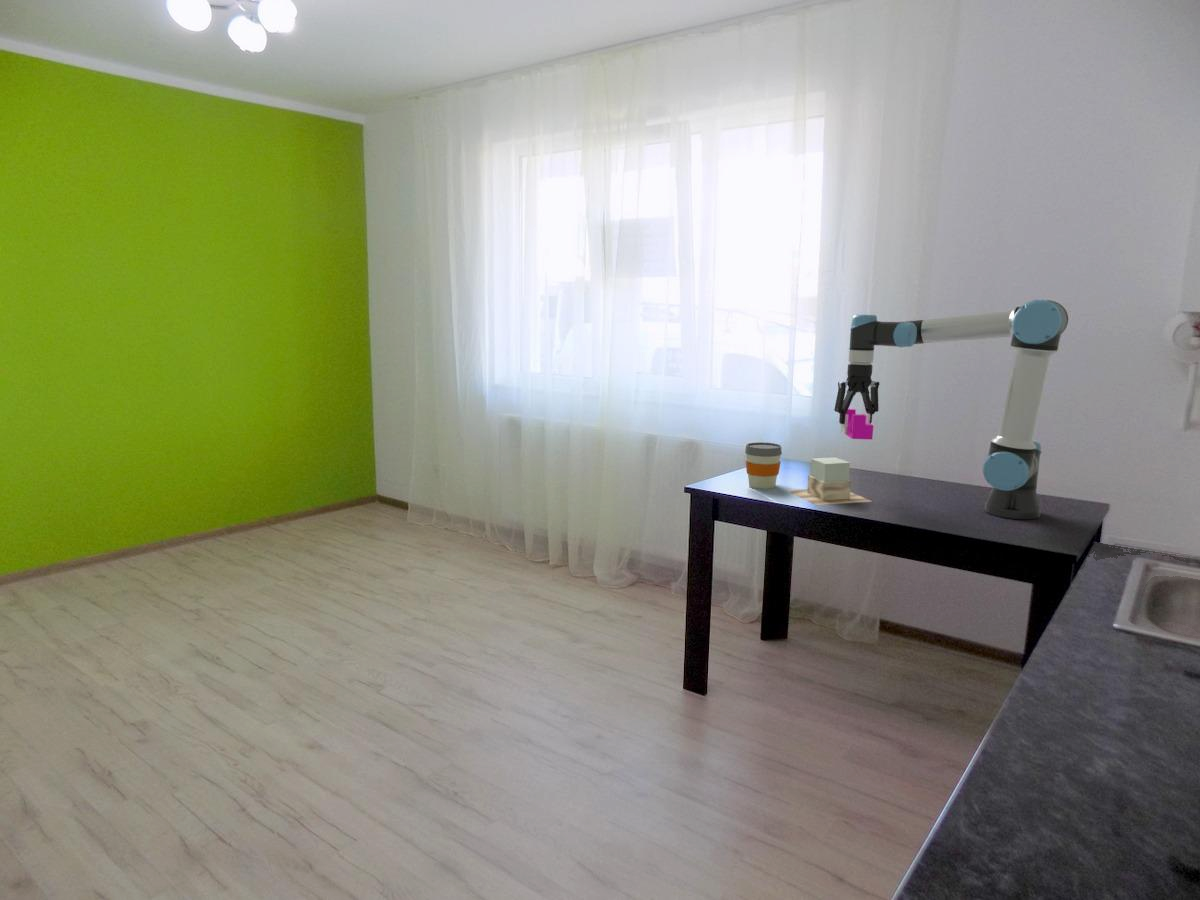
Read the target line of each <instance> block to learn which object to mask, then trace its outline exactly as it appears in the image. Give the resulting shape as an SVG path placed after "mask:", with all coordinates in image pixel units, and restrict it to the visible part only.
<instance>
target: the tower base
mask: <svg viewBox="0 0 1200 900" xmlns="http://www.w3.org/2000/svg"><path fill="white" fill-rule="evenodd" d="M851 486H852V480H850V479H849V481H832V482H823V481H821V480H818V479H816V478H814V477H811V476H810V475H808V476H807V489H808V490H807V493H808V494H810V495H813V496H815V497H817V498H819V499H821V500H834V499H849V498H850V492H851V489H852V487H851Z"/></svg>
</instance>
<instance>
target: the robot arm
mask: <svg viewBox="0 0 1200 900" xmlns="http://www.w3.org/2000/svg"><path fill="white" fill-rule="evenodd" d="M1068 324H1069V313H1068V312H1067V309H1066V308H1065V307H1064V306H1063V305H1062V304H1061V303H1059V302H1056V301H1055V300H1054V301H1053V300H1048V299H1047V300H1046V299H1034V300H1031V301H1028V302H1026V303H1024V304H1023V305H1021V306H1015V307H1014V308H1013V309H1012V310H1010V311H1000V312H990V313H989V312H988V313H978V314H977V313H976V314H968V315H960V316H959V315H958V316H950V317H949V316H948V317H938V318H937V317H936V318H928V319H927V318H926V319H919V320H918V319H917V320H906V321H880V320H879V321H878V317H877V315H876V314H854V315H853V316H852V318H851V325H850V334H849V336H850V337H849V348H848V349H849V350H848V363H847V377H846V380H844V381H840V380H839V381H838V383H837V387H838V391H837V394H836V398H835V399H836V400H835V403H834V404H835V406H834V409H833V410H834V412H836V413H838V414H839V418H838V419H839V420H838V421H839V422H838V423H839V424H840V434H842V435H845V436H847V427H848V414H846V413H847V411H848V409H850V407H851V406H850V405H851V404H852V401H853V399H854V396H856V394H858V393H860V395H861V397H862V400H863V401H862V402H863V406H864V409H865V412H863V415H866V423H870V424H872V421H873V415H875V413H877V412H879V386H880V381H876V380H872V375H873V367H874V366H873V365H872V363H873V362H874V356H875V355H874V351H875V346H878V347H879V346H881V347H882V346H883V347H884V346H885V347H897V348H909V347H910V348H911V347H913V346H914V345H921V344H922V345H923V344H931V343H932V344H933V343H942V342H943V343H945V342H957V341H972V340H985V339H997V338H1010V337H1011V341H1010V345H1009V346H1010V348H1011V350H1012V351H1013V352H1014V357H1013V361H1012V367H1011V372H1010V377H1009V381H1008V384H1007V385H1008V387H1007V391H1006V394H1005V395H1006V396H1005V401H1004V405H1003V409H1002V410H1003V411H1002V415H1001V420H1000V425H999V430H998V434H997V436H994V437H993V438H992V439H991V440H990V445H989V449H988V455H987V457H986V459H984V462H983V465H982V475H983V477H984V479H985V481H986V482H987V484H988V485H990V486H991V487H992V489H991V491H990V493H989V496H988V499H987V500H986V501H985V504H984V511H985V512H986V513H988V514H991V515H993V516H996V517H1000V518H1005V519H1006V518H1007V519H1015V520H1034V519H1035V520H1036V519H1038V518H1040V517H1041V511H1042V510H1041V506H1040V503H1039V501H1040V500H1039V497H1038V493H1037V488H1038V487H1037V486H1038V478H1039V469H1040V459H1041V454H1042V444H1041V443H1040V442H1038V441H1033V440H1032V439H1033V435H1034V430H1035V427H1036V423H1037V417H1038V412H1039V407H1040V402H1041V400H1042V399H1041V398H1042V394H1043V390H1044V384H1045V380H1046V374H1047V370H1048V365H1049V361H1050V358H1051V356H1052V355H1054V354H1056V353H1057V352H1058V351H1059V345H1060V341H1061V336H1062V334H1063V333H1064V332H1065V330H1066V329H1067V327H1068ZM847 387H848V388H847ZM869 387H870V391H869Z"/></svg>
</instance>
